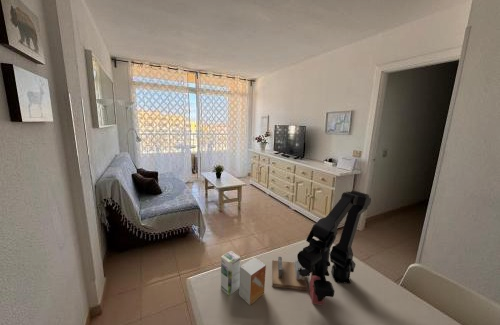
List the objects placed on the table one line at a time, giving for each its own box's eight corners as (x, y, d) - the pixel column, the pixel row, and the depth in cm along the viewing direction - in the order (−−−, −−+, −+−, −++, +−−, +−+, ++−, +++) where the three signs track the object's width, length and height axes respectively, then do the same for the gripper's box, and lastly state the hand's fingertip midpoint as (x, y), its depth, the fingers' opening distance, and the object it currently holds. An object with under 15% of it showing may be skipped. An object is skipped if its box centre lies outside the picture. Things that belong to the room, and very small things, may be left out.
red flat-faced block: (319, 291, 82) (321, 272, 80) (323, 304, 76) (325, 284, 74) (309, 290, 82) (311, 271, 80) (312, 303, 76) (314, 283, 74)
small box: (250, 306, 74) (251, 275, 72) (238, 295, 79) (239, 266, 76) (264, 293, 80) (266, 264, 77) (253, 284, 84) (254, 256, 82)
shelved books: (302, 268, 92) (302, 259, 91) (304, 280, 85) (305, 270, 84) (294, 267, 92) (295, 258, 92) (296, 279, 86) (297, 270, 85)
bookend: (281, 265, 94) (281, 257, 93) (281, 278, 86) (282, 269, 85) (277, 265, 94) (278, 256, 93) (278, 278, 86) (279, 269, 85)
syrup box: (220, 288, 82) (220, 256, 79) (231, 280, 86) (231, 249, 83) (229, 296, 78) (229, 263, 75) (240, 287, 82) (241, 256, 79)
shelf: (301, 266, 96) (302, 263, 95) (306, 290, 82) (307, 287, 82) (272, 263, 97) (272, 260, 97) (272, 286, 84) (272, 283, 83)
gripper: (295, 240, 85) (293, 272, 88) (302, 272, 67) (298, 311, 70) (323, 242, 84) (319, 274, 87) (337, 276, 66) (332, 315, 69)
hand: (316, 291), depth 78 cm, fingers open, 8 cm apart
